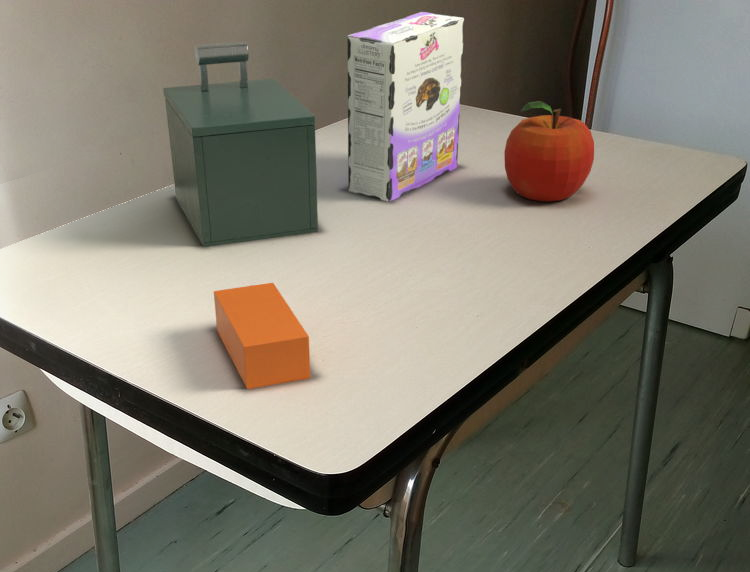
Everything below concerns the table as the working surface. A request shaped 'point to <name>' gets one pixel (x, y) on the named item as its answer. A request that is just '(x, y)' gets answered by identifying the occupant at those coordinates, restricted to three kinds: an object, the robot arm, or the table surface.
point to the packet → (262, 335)
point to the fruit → (548, 155)
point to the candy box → (403, 104)
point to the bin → (245, 182)
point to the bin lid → (234, 98)
